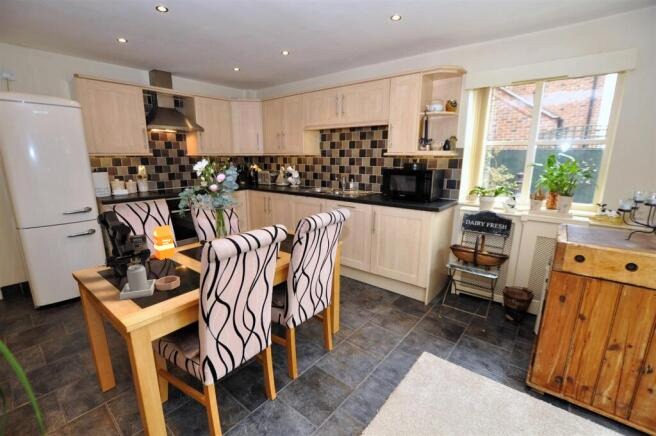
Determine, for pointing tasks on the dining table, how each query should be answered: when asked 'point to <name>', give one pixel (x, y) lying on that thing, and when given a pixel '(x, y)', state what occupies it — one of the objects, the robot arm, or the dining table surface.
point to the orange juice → (163, 242)
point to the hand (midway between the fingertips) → (134, 272)
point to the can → (137, 278)
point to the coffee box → (142, 245)
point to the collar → (161, 286)
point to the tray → (136, 294)
